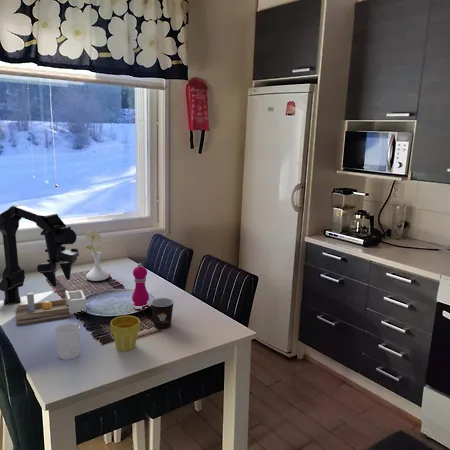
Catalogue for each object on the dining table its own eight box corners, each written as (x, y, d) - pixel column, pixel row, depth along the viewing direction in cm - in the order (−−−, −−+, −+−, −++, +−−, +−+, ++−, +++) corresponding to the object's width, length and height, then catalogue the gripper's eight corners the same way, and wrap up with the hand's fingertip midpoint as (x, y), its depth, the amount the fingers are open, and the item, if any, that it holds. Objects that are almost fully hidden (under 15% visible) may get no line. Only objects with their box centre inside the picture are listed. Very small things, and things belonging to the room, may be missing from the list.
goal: (66, 305, 192) (65, 290, 191) (82, 302, 195) (81, 288, 194) (69, 314, 183) (68, 299, 182) (86, 311, 186) (85, 296, 185)
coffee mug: (177, 323, 177) (177, 299, 175) (167, 332, 169) (167, 308, 167) (151, 318, 181) (150, 295, 179) (140, 327, 173) (140, 303, 171)
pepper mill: (145, 311, 188) (144, 266, 183) (129, 309, 189) (128, 265, 185) (151, 305, 195) (150, 261, 190) (136, 303, 196) (135, 260, 192)
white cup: (60, 349, 155) (58, 323, 153) (83, 349, 156) (82, 322, 153) (54, 361, 147) (52, 333, 145) (78, 360, 148) (76, 333, 146)
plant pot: (146, 347, 158) (146, 321, 156) (121, 357, 151) (120, 330, 148) (130, 337, 165) (129, 312, 163) (105, 346, 158) (104, 320, 156)
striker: (28, 309, 184) (26, 291, 182) (34, 308, 185) (32, 290, 183) (28, 316, 178) (27, 296, 176) (35, 315, 179) (33, 296, 177)
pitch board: (16, 309, 187) (16, 302, 186) (65, 302, 195) (64, 296, 195) (17, 325, 172) (16, 318, 171) (70, 317, 180) (69, 310, 180)
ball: (41, 309, 185) (41, 300, 184) (52, 307, 187) (51, 299, 186) (42, 313, 182) (41, 303, 181) (52, 311, 183) (52, 302, 182)
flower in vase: (114, 278, 227) (112, 230, 222) (96, 284, 218) (94, 235, 212) (96, 273, 234) (94, 227, 228) (79, 279, 224) (76, 231, 219)
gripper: (58, 248, 165) (66, 288, 167) (84, 238, 183) (91, 275, 185) (32, 251, 167) (40, 290, 169) (61, 241, 185) (68, 277, 187)
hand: (61, 283), depth 178 cm, fingers open, 9 cm apart
